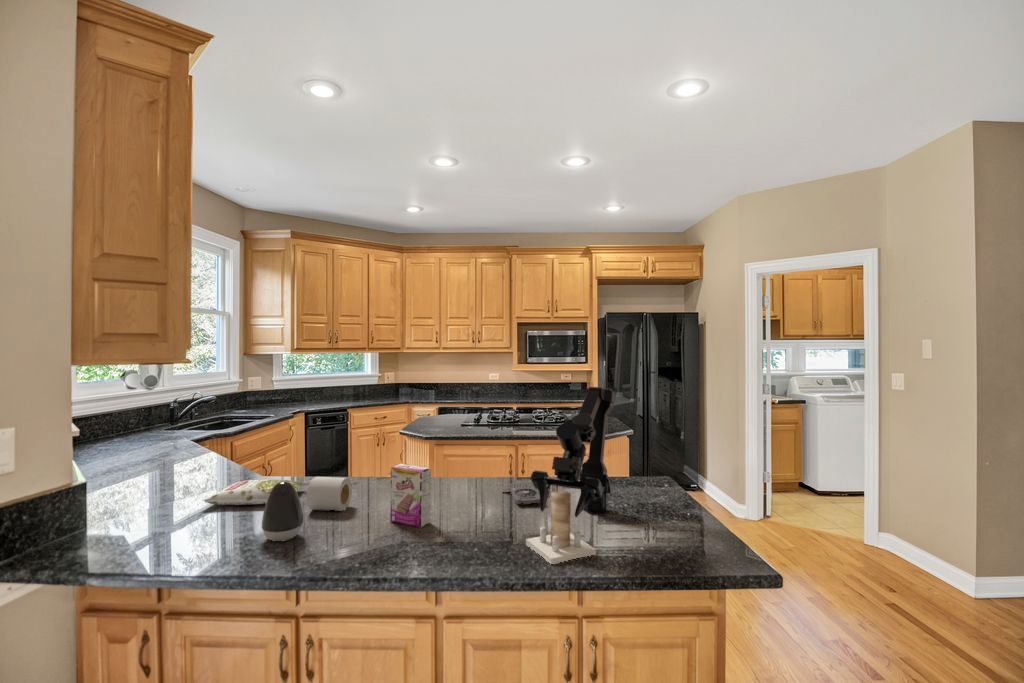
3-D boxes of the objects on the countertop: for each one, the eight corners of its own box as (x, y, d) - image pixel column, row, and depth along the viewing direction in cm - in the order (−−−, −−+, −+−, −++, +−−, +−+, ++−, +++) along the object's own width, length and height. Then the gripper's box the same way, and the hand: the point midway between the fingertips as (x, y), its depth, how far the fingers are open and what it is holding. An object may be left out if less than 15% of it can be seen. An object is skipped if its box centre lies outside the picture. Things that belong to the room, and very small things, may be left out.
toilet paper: (351, 505, 162) (351, 474, 162) (337, 515, 152) (338, 482, 152) (322, 503, 163) (322, 473, 163) (306, 514, 153) (306, 481, 153)
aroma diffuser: (261, 548, 128) (262, 489, 128) (261, 534, 137) (261, 479, 137) (304, 541, 132) (305, 484, 132) (301, 528, 142) (301, 474, 142)
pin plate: (567, 536, 137) (568, 518, 137) (595, 555, 126) (595, 535, 126) (525, 544, 132) (526, 525, 132) (551, 564, 120) (551, 544, 120)
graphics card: (501, 483, 177) (534, 481, 179) (501, 494, 177) (535, 492, 179) (508, 499, 161) (544, 496, 162) (508, 510, 161) (545, 508, 162)
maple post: (556, 538, 132) (556, 489, 132) (573, 542, 129) (573, 492, 129) (547, 545, 128) (547, 494, 128) (564, 549, 125) (565, 497, 125)
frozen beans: (284, 490, 158) (200, 491, 155) (283, 509, 157) (200, 510, 155) (305, 475, 178) (231, 476, 176) (304, 491, 178) (231, 492, 176)
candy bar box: (389, 522, 147) (389, 466, 147) (399, 517, 152) (400, 462, 151) (420, 528, 142) (421, 471, 142) (430, 523, 147) (431, 467, 147)
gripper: (533, 440, 136) (516, 492, 126) (600, 447, 128) (587, 503, 118) (543, 463, 143) (528, 513, 133) (607, 471, 135) (596, 525, 125)
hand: (558, 513), depth 127 cm, fingers open, 9 cm apart
